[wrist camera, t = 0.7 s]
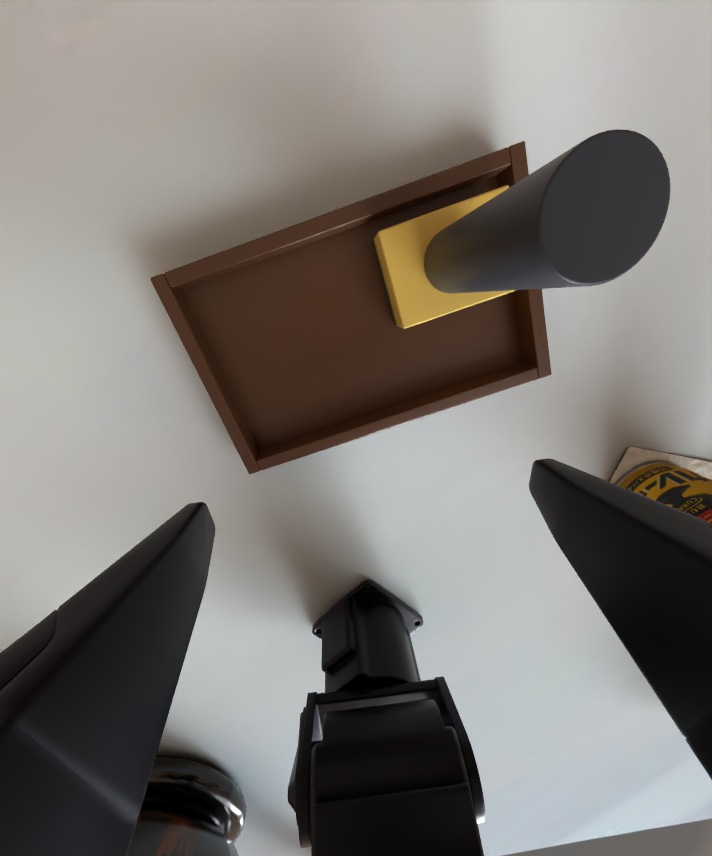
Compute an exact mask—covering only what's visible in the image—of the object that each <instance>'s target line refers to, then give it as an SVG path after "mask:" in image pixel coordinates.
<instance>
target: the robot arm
mask: <svg viewBox="0 0 712 856" xmlns="http://www.w3.org/2000/svg"><path fill="white" fill-rule="evenodd" d="M529 489H530V492H531V494H532V496H533V498H534V500H535V502H536V504H537V506H538V508H539V510H540V512H541V514H542V516H543V518H544V520H545V522H546V523H547V525H548V527H549V529H550V531H551V533H552V535H553V537H554V539H555V540H556V542H557V544H558V545H559V547H560V548H561V550H562V551H563V553H564V555H565V556H566V558H567V559H568V561H569V562H570V564H571V565H572V567H573V568H574V570H575V571H576V573H577V574H578V576H579V577H580V579H581V580H582V582H583V584H584V585H585V587H586V588H587V590H588V591H589V593H590V594H591V596H592V597H593V599H594V600H595V602H596V603H597V605H598V606H599V608H600V609H601V611H602V613H603V614H604V616H605V617H606V619H607V620H608V622H609V623H610V625H611V626H612V628H613V629H614V631H615V632H616V634H617V635H618V637H619V638H620V640H621V642H622V643H623V645H624V646H625V648H626V649H627V651H628V652H629V654H630V655H631V657H632V658H633V660H634V661H635V663H636V664H637V666H638V668H639V669H640V671H641V672H642V674H643V675H644V677H645V678H646V680H647V681H648V683H649V684H650V686H651V687H652V689H653V690H654V692H655V693H656V695H657V697H658V698H659V700H660V701H661V703H662V704H663V706H664V707H665V709H666V710H667V712H668V713H669V715H670V716H671V718H672V719H673V721H674V722H675V724H676V726H677V727H678V729H679V730H680V732H681V733H682V735H683V736H684V737H686V741H687V743H688V744H689V746H690V747H691V749H692V750H693V752H694V754H695V755H696V757H697V758H698V760H699V761H700V763H701V764H702V766H703V767H704V769H705V770H706V772H707V773H708V775H709V776H710V778H711V779H712V523H710V524H709V523H708V522H707V521H705V520H702V519H700V518H698V517H695V516H693V515H690V514H688V513H685V512H683V511H680V510H678V509H675V508H673V507H670V506H668V505H665V504H663V503H660V502H658V501H655V500H653V499H650V498H648V497H645V496H643V495H640V494H638V493H635V492H633V491H630V490H628V489H625V488H623V487H620V486H618V485H615V484H613V483H610V482H608V481H606V480H603V479H601V478H598V477H596V476H593V475H591V474H588V473H586V472H583V471H581V470H578V469H576V468H573V467H571V466H568V465H566V464H563V463H561V462H558V461H556V460H553V459H541V460H536V461H535V462H534V463H533V466H532V471H531V477H530V482H529ZM214 536H215V525H214V522H213V520H212V517H211V515H210V512H209V510H208V507H207V505H206V504H205V503H203V502H199V503H191V504H188V505H186V506H185V507H184V508H183V509H181V510H180V511H179V512H178V513H176V514H175V515H174V516H172V517H171V518H170V519H169V520H167V521H166V522H165V523H164V524H162V525H161V526H160V527H159V528H157V529H156V530H155V531H154V532H152V533H151V534H150V535H149V536H147V537H146V538H145V539H144V540H142V541H141V542H140V543H139V544H137V545H136V546H135V547H134V548H132V549H131V550H130V551H129V552H127V553H126V554H125V555H124V556H122V557H121V558H120V559H119V560H117V561H116V562H115V563H114V564H112V565H111V566H110V567H109V568H107V569H106V570H105V571H104V572H102V573H101V574H100V575H99V576H97V577H96V578H95V579H94V580H92V581H91V582H90V583H89V584H87V585H86V586H85V587H84V588H82V589H81V590H80V591H79V592H77V593H76V594H75V595H73V596H72V597H71V598H70V599H68V600H67V601H66V602H65V603H63V604H62V605H61V606H60V607H59V608H58V610H55V611H53V612H52V613H51V614H50V615H48V616H47V617H46V618H45V619H43V620H42V621H41V622H40V623H38V624H37V625H36V626H35V627H33V628H32V629H31V630H29V631H28V632H27V633H26V634H24V635H23V636H22V637H20V638H19V639H18V640H17V641H15V642H14V643H13V644H11V645H10V646H9V647H8V648H6V649H5V650H4V651H2V652H1V653H0V856H127V854H128V851H129V847H130V844H131V841H132V837H133V834H134V830H135V827H136V824H137V820H136V819H137V818H138V816H139V812H140V809H141V805H142V802H143V799H144V795H145V792H146V788H147V785H148V782H149V778H150V775H151V771H152V768H153V765H154V761H155V758H156V754H157V751H158V747H159V744H160V741H161V737H162V734H163V730H164V727H165V724H166V720H167V717H168V713H169V710H170V706H171V703H172V700H173V696H174V693H175V689H176V686H177V683H178V679H179V676H180V672H181V669H182V666H183V662H184V659H185V655H186V652H187V648H188V645H189V642H190V638H191V635H192V631H193V628H194V625H195V621H196V618H197V614H198V611H199V608H200V604H201V601H202V597H203V594H204V590H205V586H206V581H207V576H208V570H209V565H210V559H211V553H212V548H213V542H214ZM366 587H369V588H366ZM422 625H423V619H422V616H421V615H419V614H418V613H417V612H415V611H414V610H412V609H411V608H409V607H408V606H407V605H405V604H404V603H402V602H401V601H400V600H398V599H397V598H395V597H394V596H392V595H391V594H390V593H388V592H387V591H385V590H384V589H383V588H381V587H380V586H378V585H377V584H375V583H374V582H373V581H371V580H365V581H363V582H362V583H361V584H360V585H359V586H357V587H356V588H355V589H354V590H353V591H352V592H350V593H349V594H348V595H347V596H346V597H345V598H343V599H342V600H341V601H340V602H339V603H337V604H336V605H335V606H334V607H333V608H332V609H330V610H329V611H328V612H327V613H326V614H325V615H324V616H323V617H321V618H320V619H319V620H318V621H317V622H316V623H314V625H313V629H312V632H313V634H314V635H316V636H317V637H319V638H321V639H322V671H324V672H325V693H319V694H317V692H313V693H308V697H307V704H306V707H304V710H303V712H302V713H301V715H300V729H299V741H298V748H297V753H296V757H295V761H294V765H293V769H292V774H291V778H290V782H289V786H288V802H289V804H290V805H291V807H292V808H293V809H294V811H295V812H296V820H297V825H298V830H299V840H300V845H301V847H302V848H305V847H312V856H484V854H483V849H482V844H481V839H480V834H479V829H478V824H477V823H482V822H484V820H485V807H484V799H483V792H482V787H481V782H480V777H479V773H478V769H477V765H476V761H475V757H474V754H473V750H472V747H471V744H470V741H469V738H468V736H467V733H466V731H465V728H464V726H463V723H462V721H461V718H460V716H459V713H458V711H457V709H456V706H455V704H454V701H453V699H452V696H451V694H450V691H449V689H448V686H447V684H446V682H445V679H444V677H435V679H433V680H425V681H421V680H420V676H419V672H418V668H417V663H416V659H415V655H414V651H413V647H412V642H411V638H410V635H411V634H412V633H413V632H415V631H416V630H417V629H418V628H420V627H421V626H422Z"/></svg>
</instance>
